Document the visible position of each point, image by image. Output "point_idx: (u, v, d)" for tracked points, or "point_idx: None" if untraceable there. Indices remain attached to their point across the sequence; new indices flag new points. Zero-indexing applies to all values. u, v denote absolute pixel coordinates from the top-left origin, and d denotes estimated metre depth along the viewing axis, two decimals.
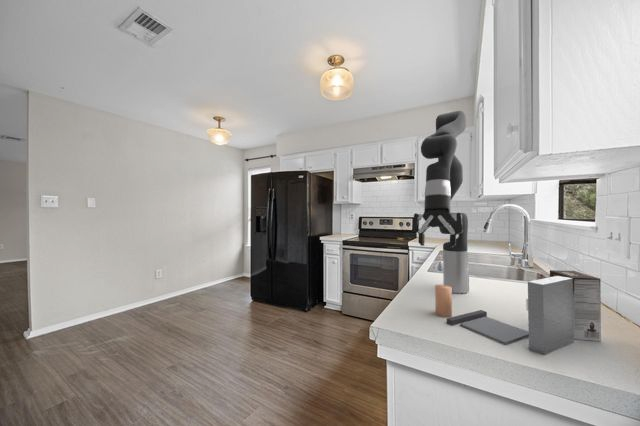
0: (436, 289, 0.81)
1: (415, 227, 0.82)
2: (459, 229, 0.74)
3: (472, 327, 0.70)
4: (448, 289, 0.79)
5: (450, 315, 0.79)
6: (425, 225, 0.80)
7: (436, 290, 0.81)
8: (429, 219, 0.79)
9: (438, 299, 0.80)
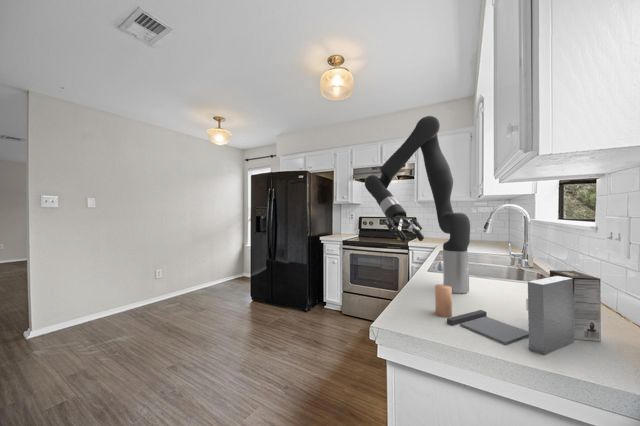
0: (436, 289, 0.81)
1: None
2: None
3: (472, 327, 0.70)
4: (448, 289, 0.79)
5: (450, 315, 0.79)
6: None
7: (436, 290, 0.81)
8: None
9: (438, 299, 0.80)
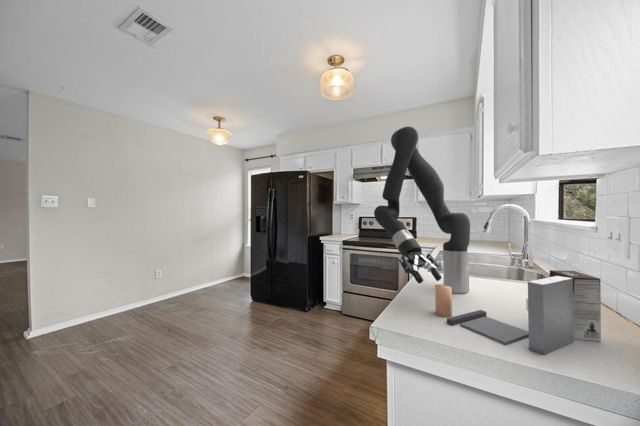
0: (436, 289, 0.81)
1: None
2: None
3: (472, 327, 0.70)
4: (448, 289, 0.79)
5: (450, 315, 0.79)
6: None
7: (436, 290, 0.81)
8: None
9: (438, 299, 0.80)
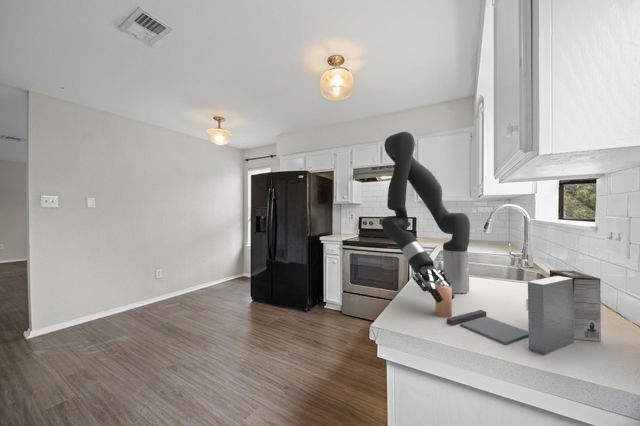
0: None
1: None
2: None
3: (472, 327, 0.70)
4: (448, 289, 0.79)
5: (449, 315, 0.79)
6: None
7: None
8: None
9: None
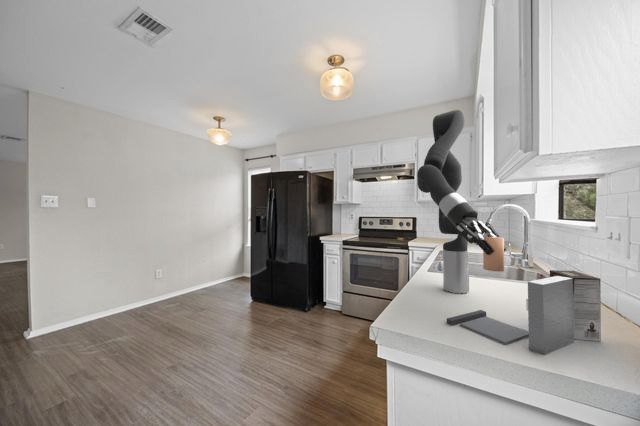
0: None
1: None
2: None
3: (472, 327, 0.70)
4: (500, 239, 0.68)
5: (502, 269, 0.68)
6: None
7: None
8: None
9: None
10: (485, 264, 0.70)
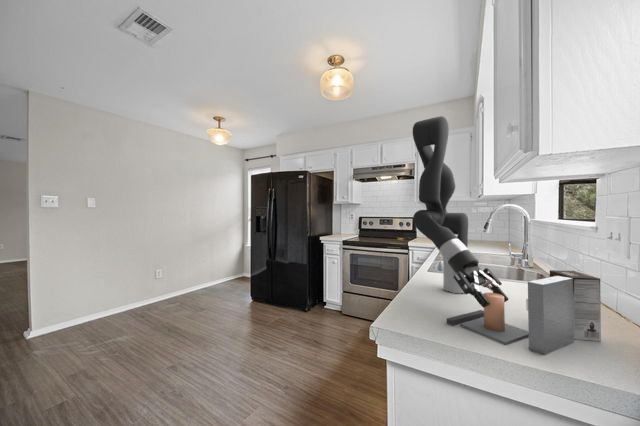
0: None
1: None
2: None
3: (472, 327, 0.70)
4: (501, 299, 0.68)
5: (503, 329, 0.68)
6: None
7: None
8: None
9: (488, 311, 0.69)
10: (485, 322, 0.70)
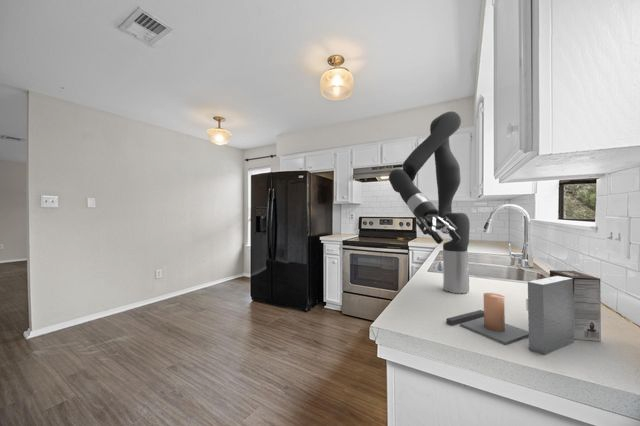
0: (485, 298, 0.70)
1: None
2: None
3: (472, 327, 0.70)
4: (501, 299, 0.68)
5: (503, 329, 0.68)
6: None
7: (485, 299, 0.70)
8: None
9: (488, 310, 0.69)
10: (485, 322, 0.70)
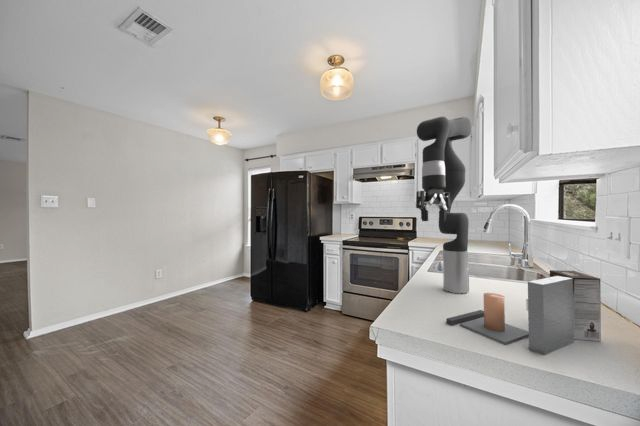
0: (485, 298, 0.70)
1: None
2: None
3: (472, 327, 0.70)
4: (501, 299, 0.68)
5: (503, 329, 0.68)
6: None
7: (485, 299, 0.70)
8: None
9: (488, 310, 0.69)
10: (485, 322, 0.70)
